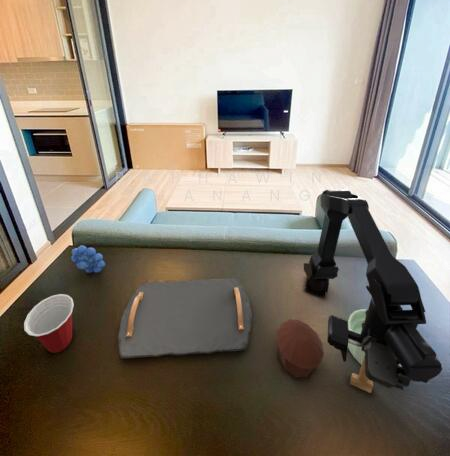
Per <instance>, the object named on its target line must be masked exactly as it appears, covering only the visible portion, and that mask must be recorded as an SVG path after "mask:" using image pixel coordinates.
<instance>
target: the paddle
mask: <svg viewBox="0 0 450 456" xmlns="http://www.w3.org/2000/svg"><path fill="white" fill-rule="evenodd" d="M349 384H350V385H351V386H352V387H353V386H354V387H355V388H358V389H360V390H362V391H365V392H367V393H369V394H372V391H373V388H374V381H371V380H369V379H368V378H367V376H366V374H365V356H364V359H363V362H362V365H360V368H359V372H358V374H357V373H355V372H351V375H350V379H349Z"/></svg>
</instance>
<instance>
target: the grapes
mask: <svg viewBox="0 0 450 456" xmlns="http://www.w3.org/2000/svg"><path fill="white" fill-rule="evenodd" d="M103 259H104V257H103V255H102V253H100V252H99V253H98V252H97V253H96V249H95V248H94V247H87V246H86V245H79V246H77V247H76V248H72V250H71V257H70V260H71V262H72V263H75V264H76V268H77V269H79V270H83V271H85V272H86V273H87V274H91V273H93V272H94V273H96V274H98V273H100V272H102V269H103V268H105V267H106V263H105V261H104V260H103Z"/></svg>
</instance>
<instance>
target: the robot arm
mask: <svg viewBox="0 0 450 456" xmlns="http://www.w3.org/2000/svg"><path fill="white" fill-rule="evenodd" d="M319 198H320V207H321V209H322V211H323V214H324V217H323V222H322V227H321V232H320V236H319V241H318V246H317V251H316V252H314V253H313V254H312V255H311V256H310V258H309V261H308V262H304V263H303V271H304V274H305V275H306V280H305V286H304V291H305V293H308V294H311V295H314V296H317V297H320V298H323V299H325V298H326V294H328V292H329V291H328V290H329V287H330V279H331V280H334V279H336V278H338V272H339V270H340V268H339V267H338V265H337V262H336V260H335V254H336V250H337V246H338V242H339V238H340V233H341V230H342V226H343V221H345V220H346V219H347V218H348V221H349V223H350V225H351V228H352V230H353V232H354V235H355V237H356V239H357V242H358V244H359V246H360V249H361V251H362V253H363V256H364V258H365V261H366V264H367V267H366V272H365V276H366V279H367V282H368V284H366V286H365V289H366V290H367V291H368V294H369V295H370V296H371V298H370V301H369V305H368V308H367V309H366V313H365V314H366V318H365V321H364V323H362V331H361V334H359V333H356V332H353V331H350V330H348V320H347V319H345V318H342V317H339V316H336V315H334V314H330V316H328V318H327V319H328V320H327V341H326V342H327V343H328V344H329V345H330V346H332V347H333V348H334V349H336V350H339V352H340V354H341V358H342V361H343V362H344V363H345V362H347V357H348V353H349V352H348V349H349V348H348V343H351V344H353V345H356V346H359V347H361V350H362V351H364V352H365V374H366V376H367V378H368V379H369V380H371V381H373V383H377V384H379V385H382V386H383V387H385V388H388V389H391V388H393V387H394V388H397V389H399V390H401V391H404V387H406V388H407V387H409V386H410V384H411V381H412V382H415V383H424V384H427V383H428V382H429V381H430V380H432V379H434V378H436V377H438V376H439V375H440V374H441V373H442V371H443V367H442V363H441V361H440V360H439V359H438V357H437V353H436V351H435V349H433V348H432V347H431V345H430V344H429V343H428V342H427V341H426V339H425V338H424V337H423V336H422V334H421V333H420V332H419V330H418V329H417V328H418V326H419V325H427V319H426V309H425V307H424V303H423V299H422V295H421V292H420V288H419V286H418V283H417V281H416V280H415V278H414V277H413V275H412V274H411V273H410V271H409V269H408V268H407V267H406V266H405V265H404V264H403V263H402V262H401V261H399V260H398V259H397V258H396V257H394V255H393V254H392V252H391V251H390V248H389V246H388V245H387V243H386V240H385V239H384V236H383V235H382V232H381V231H380V229H379V227H378V225H377V223H376V221H375V219H374V217H373V216H372V214H371V212H370V207H369V203H368V201H367V200H366V199H365V198H362V197H361V196H360V195H358V194H355V193H352V192H351V191H350V190H349V189H324V190H323V191H322V192H321V194H320V197H319ZM403 306H410V308H411V309H403Z"/></svg>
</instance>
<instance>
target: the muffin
mask: <svg viewBox="0 0 450 456" xmlns="http://www.w3.org/2000/svg"><path fill="white" fill-rule="evenodd" d="M276 344H277V348H278V349H277V350H278V357H279V360H280V362H281V364H282V366H283V368H284V371H286V372H287V373H289V374H290V375H292V376H293V377H294V378H295V379H298V378H299V379H300V378H306V379H307V378H308V377H309V375H310V374H311V372H313V371H314V370H315V369H316V367H317V366H319V365H320V364H321V363H322V360H323V358H324V355H325V352H324V345H323V341H322V340H321V338H320V336H319V335H318V333H317V331H315V330H314V329H313V328H312V327H311V326H310V325H309V324H307V323H306V322H304V321H301V320H300V319H291V318H290V319H288V320H286V321H284V322H281V323H280V325H279V327H278V328H277V329H276Z"/></svg>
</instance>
